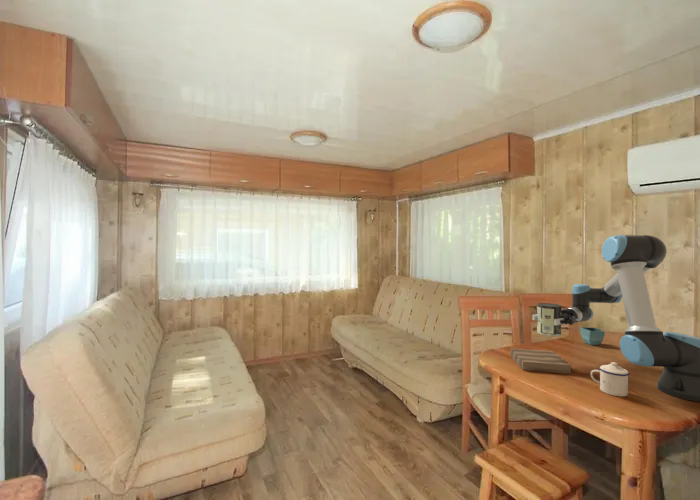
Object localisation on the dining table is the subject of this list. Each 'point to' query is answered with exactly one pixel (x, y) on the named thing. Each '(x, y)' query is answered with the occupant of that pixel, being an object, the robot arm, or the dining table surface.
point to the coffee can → (548, 319)
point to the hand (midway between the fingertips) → (543, 319)
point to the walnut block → (540, 361)
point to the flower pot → (592, 335)
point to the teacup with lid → (613, 379)
